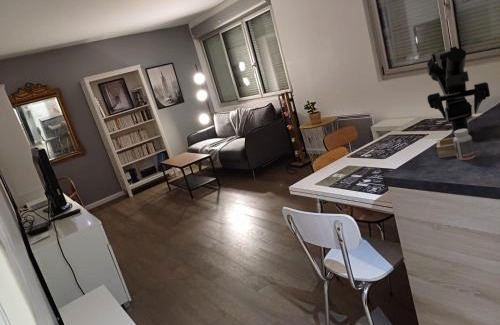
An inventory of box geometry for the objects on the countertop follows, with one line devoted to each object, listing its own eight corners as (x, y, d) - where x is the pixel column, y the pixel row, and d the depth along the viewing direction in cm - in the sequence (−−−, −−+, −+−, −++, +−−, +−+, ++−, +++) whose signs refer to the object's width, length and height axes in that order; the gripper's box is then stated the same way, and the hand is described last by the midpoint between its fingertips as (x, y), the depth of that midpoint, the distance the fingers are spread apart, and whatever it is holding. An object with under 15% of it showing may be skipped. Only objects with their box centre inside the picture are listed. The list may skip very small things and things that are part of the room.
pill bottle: (478, 154, 120) (473, 127, 118) (470, 160, 118) (465, 133, 115) (461, 154, 125) (456, 128, 123) (453, 160, 122) (448, 133, 120)
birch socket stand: (438, 150, 136) (436, 140, 135) (464, 145, 131) (462, 135, 130) (438, 157, 129) (436, 147, 128) (466, 153, 124) (464, 143, 123)
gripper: (422, 73, 130) (425, 110, 123) (483, 58, 119) (489, 97, 113) (429, 90, 138) (432, 125, 131) (487, 76, 127) (493, 114, 121)
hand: (460, 116), depth 124 cm, fingers open, 9 cm apart
